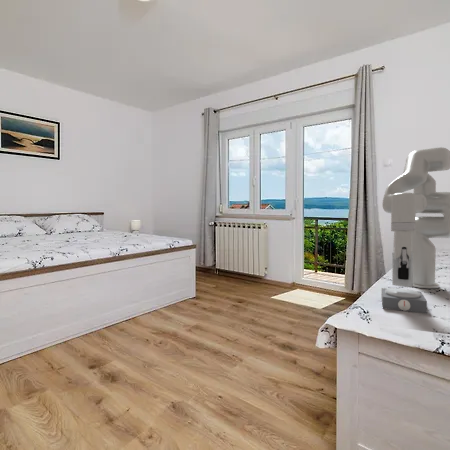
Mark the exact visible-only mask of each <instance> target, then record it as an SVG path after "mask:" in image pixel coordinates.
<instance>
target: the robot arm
mask: <svg viewBox="0 0 450 450" xmlns="http://www.w3.org/2000/svg"><path fill="white" fill-rule="evenodd" d="M403 168H404V169H403V172H402V174H401V175H399V176H398V177H397V178H395V179H394V180H393V181H392V182H391V183H389V184H388V186H387V187H386V189H385V191H384V195H383V198H382V209H383V211H384V212H385V213H387V214H391V216H390V217H391V218H390V219H391V220H390V231H391V232H394V233H393V251H392V253H393V252H394V258H395V259H397V258H399V268H398V279H404V280H408V279H409V268H408V260H409V259H410V258H411V252H413V286H412V287H414V288H420V289H438V288H440V284H439V283H437V282H436V249H437V248H436V246H435V245H434V243H433V242H432V241H431V240H430V239H450V191H440V192H439V191H437V188H436V185H437V181H436V180H435V179H434V177H433V176H432V175H431V174H430V172H431V173H432V172H441V171H443V172H444V171H448V170H450V150H449V149H448V148H446V147H442V146H441V147H433V148H425V149H418V150H413V151H412V152H410V153H409V154H408V155H407V157H406V159H405V165H404V167H403ZM411 190H413V192H407V191H411ZM416 214H422V215H423V214H426V215H427V214H429V215H430V214H431V215H432V214H435V215H436V214H440V215H442V216H416ZM408 256H409V259H408ZM400 257H402V259H400Z"/></svg>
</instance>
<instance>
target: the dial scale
mask: <svg viewBox="0 0 450 450" xmlns="http://www.w3.org/2000/svg"><path fill="white" fill-rule="evenodd" d="M380 293H381V305H382V306H381V307H383V308H382V309H385V308H387V310H394V309H395V310H396V311H402V310H403V312H411V311H412V313H422V314H427V313H428V311H427V310H428V301H427V299H426V298H425V296H424V294H423V293H422V291H417V290H412V289H407V288H395V287H394V288H393V287H392V288H385V287H384V288H383V287H381V292H380ZM395 310H394V311H395Z"/></svg>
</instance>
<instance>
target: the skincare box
mask: <svg viewBox="0 0 450 450" xmlns="http://www.w3.org/2000/svg"><path fill="white" fill-rule="evenodd" d="M400 259H402V257H400ZM408 259H409V256H408ZM398 268H399V258H397V259H395V258H394V252H393V251H392V272H391V273H392V279H391V280H392V286H395V287H396V286H397V287H405V288H412V287H413V252H411V258H410V259H409V260H408V268H409V279H408V280H404V279H398Z"/></svg>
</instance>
